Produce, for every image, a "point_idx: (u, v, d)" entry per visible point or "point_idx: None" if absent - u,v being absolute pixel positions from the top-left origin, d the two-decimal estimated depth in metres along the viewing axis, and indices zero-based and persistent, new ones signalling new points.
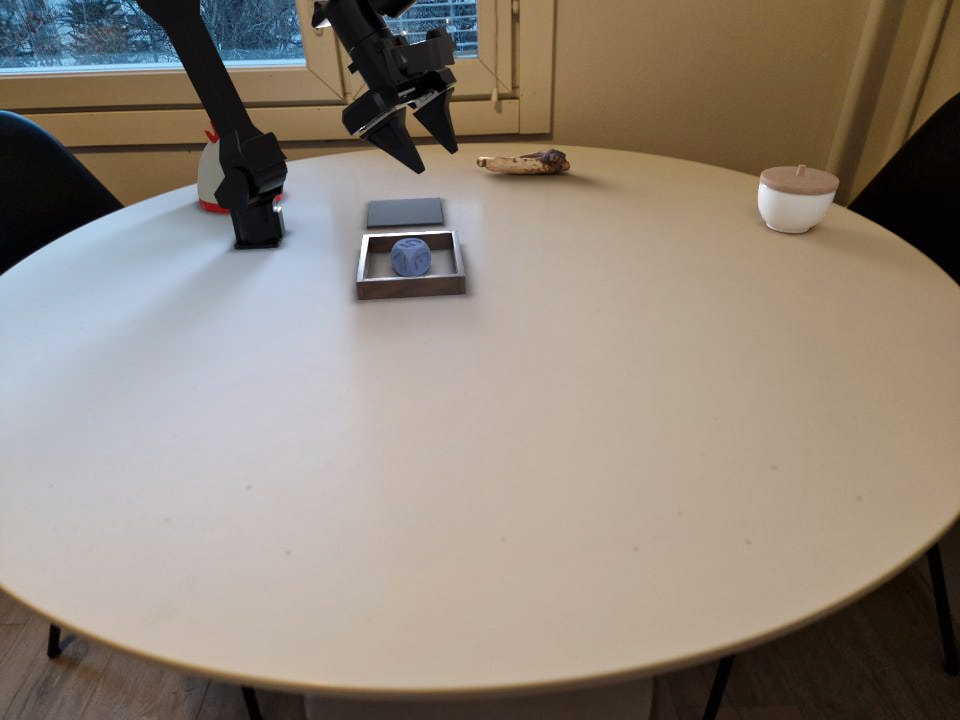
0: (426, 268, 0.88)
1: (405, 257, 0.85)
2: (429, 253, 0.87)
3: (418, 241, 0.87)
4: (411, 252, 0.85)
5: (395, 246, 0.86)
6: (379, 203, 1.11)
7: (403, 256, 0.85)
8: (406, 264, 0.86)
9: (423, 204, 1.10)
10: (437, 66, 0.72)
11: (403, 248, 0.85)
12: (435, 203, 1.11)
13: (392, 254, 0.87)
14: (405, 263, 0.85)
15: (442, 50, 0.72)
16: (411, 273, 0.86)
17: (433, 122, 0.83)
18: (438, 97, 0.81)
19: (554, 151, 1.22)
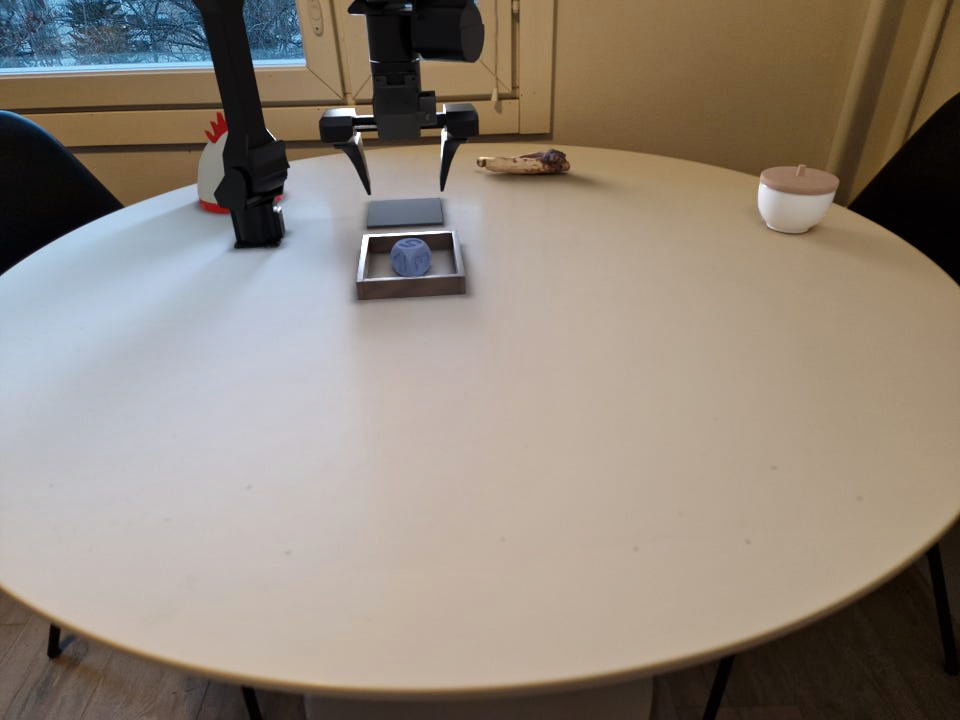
0: (426, 268, 0.88)
1: (405, 257, 0.85)
2: (429, 253, 0.87)
3: (418, 241, 0.87)
4: (411, 252, 0.85)
5: (395, 246, 0.86)
6: (379, 203, 1.11)
7: (403, 256, 0.85)
8: (406, 264, 0.86)
9: (423, 204, 1.10)
10: (380, 137, 0.72)
11: (403, 248, 0.85)
12: (435, 203, 1.11)
13: (392, 254, 0.87)
14: (405, 263, 0.85)
15: (391, 127, 0.71)
16: (411, 273, 0.86)
17: (441, 153, 0.81)
18: (443, 139, 0.78)
19: (554, 151, 1.22)
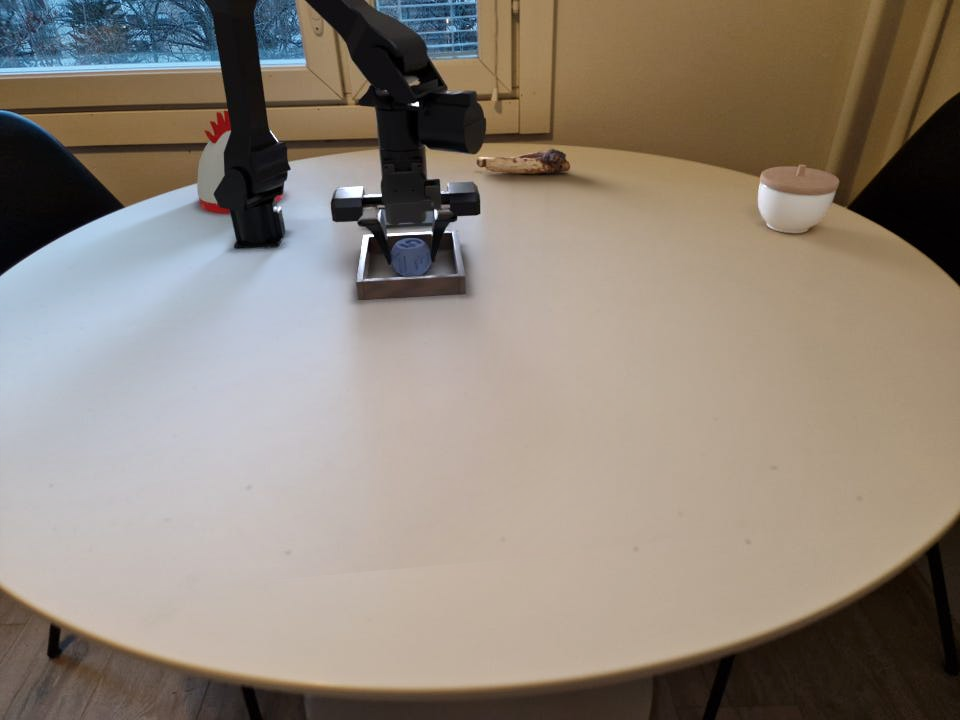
0: (426, 268, 0.88)
1: (405, 257, 0.85)
2: (429, 253, 0.87)
3: (418, 241, 0.87)
4: (411, 252, 0.85)
5: (395, 246, 0.86)
6: None
7: (403, 256, 0.85)
8: (406, 264, 0.86)
9: None
10: (388, 221, 0.77)
11: (403, 248, 0.85)
12: None
13: (392, 254, 0.87)
14: (405, 263, 0.85)
15: (399, 213, 0.76)
16: (411, 273, 0.86)
17: (432, 227, 0.86)
18: (434, 218, 0.83)
19: (554, 151, 1.22)
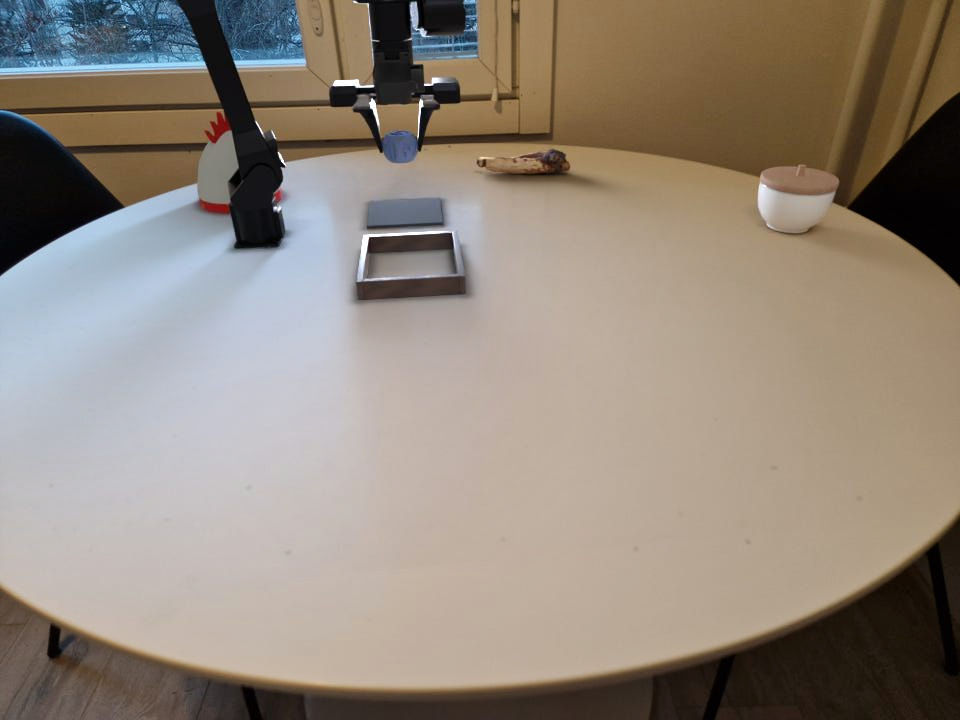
0: (413, 156, 0.99)
1: (394, 143, 0.97)
2: (416, 142, 0.98)
3: (406, 132, 0.99)
4: (400, 139, 0.96)
5: (386, 135, 0.97)
6: (379, 203, 1.11)
7: (393, 143, 0.97)
8: (395, 150, 0.97)
9: (423, 204, 1.10)
10: (378, 101, 0.88)
11: (393, 135, 0.97)
12: (435, 203, 1.11)
13: (383, 143, 0.98)
14: (394, 149, 0.97)
15: (387, 93, 0.87)
16: (400, 158, 0.98)
17: None
18: None
19: (554, 151, 1.22)
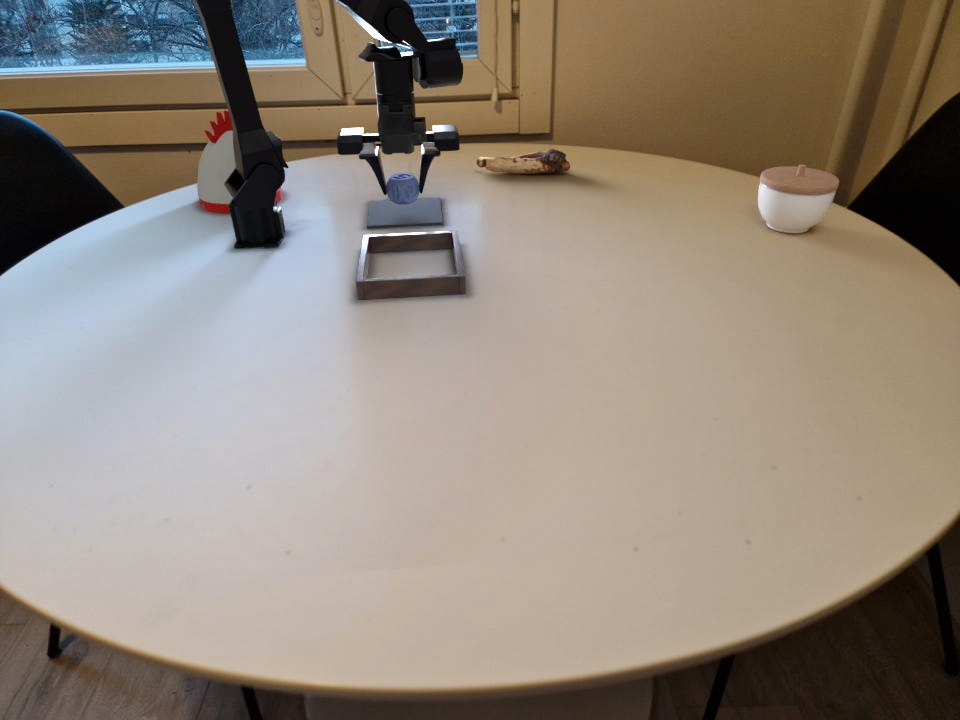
0: (415, 197, 1.06)
1: (398, 187, 1.03)
2: (418, 185, 1.05)
3: (409, 175, 1.05)
4: (403, 183, 1.03)
5: (389, 178, 1.04)
6: (379, 203, 1.11)
7: (396, 186, 1.03)
8: (398, 193, 1.04)
9: (423, 204, 1.10)
10: (383, 151, 0.95)
11: (396, 179, 1.03)
12: (435, 203, 1.11)
13: (387, 185, 1.05)
14: (398, 192, 1.03)
15: (392, 144, 0.94)
16: (403, 200, 1.04)
17: (420, 163, 1.04)
18: (421, 153, 1.01)
19: (554, 151, 1.22)
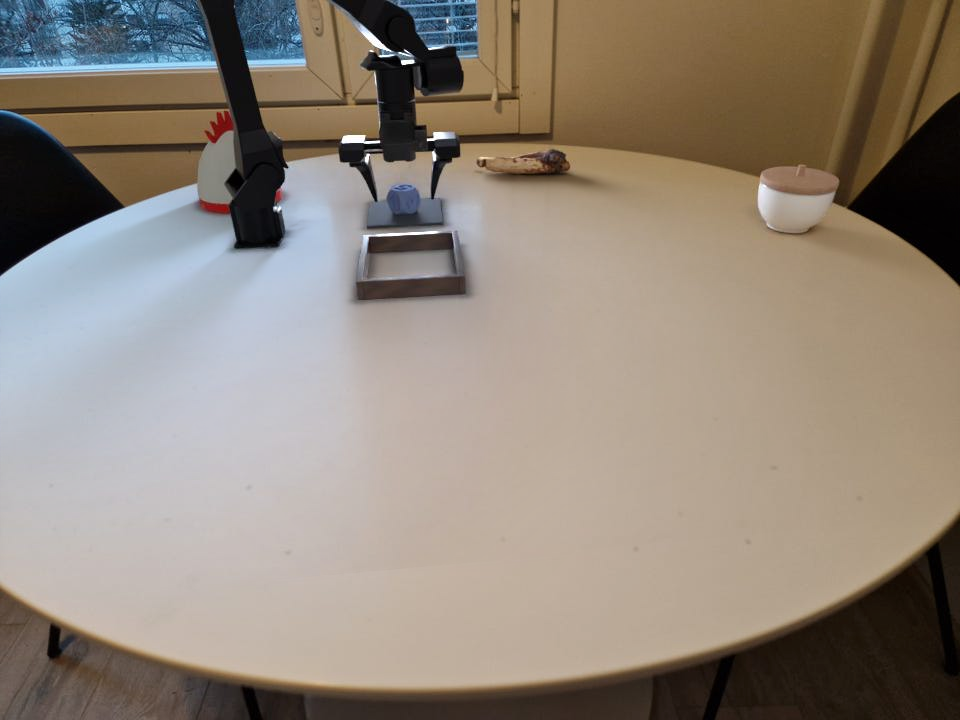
0: (416, 208, 1.07)
1: (399, 198, 1.04)
2: (418, 195, 1.06)
3: (409, 186, 1.06)
4: (403, 194, 1.04)
5: (390, 189, 1.05)
6: (379, 203, 1.11)
7: (397, 197, 1.04)
8: (399, 204, 1.05)
9: (423, 204, 1.10)
10: (385, 159, 0.96)
11: (397, 190, 1.04)
12: (435, 203, 1.11)
13: (388, 196, 1.06)
14: (399, 203, 1.04)
15: (393, 152, 0.94)
16: (404, 211, 1.05)
17: None
18: (433, 160, 1.02)
19: (554, 151, 1.22)
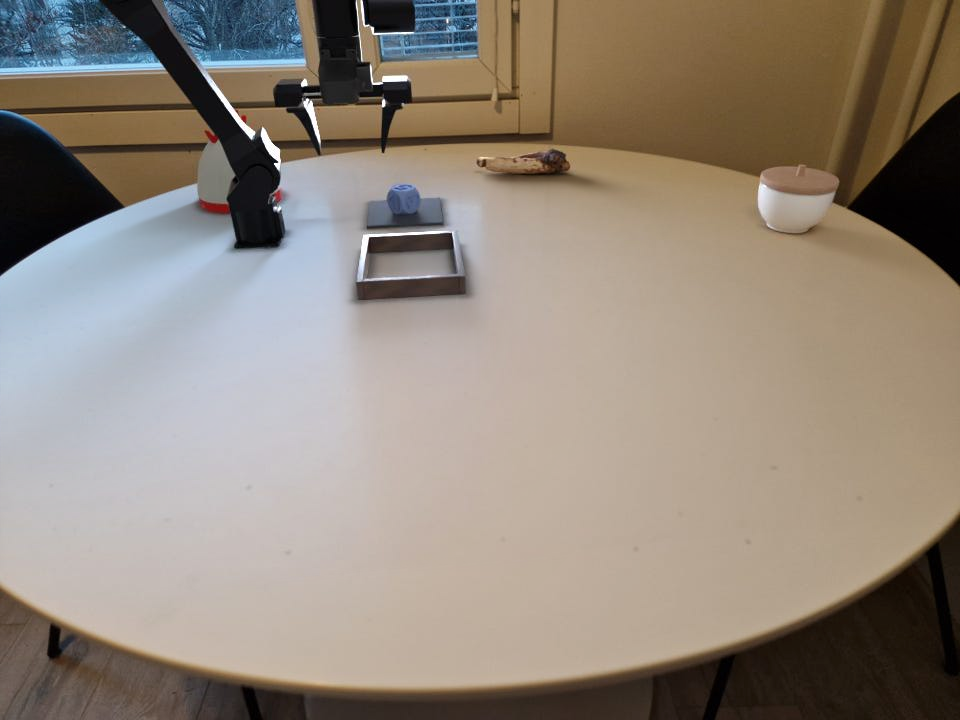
0: (416, 208, 1.07)
1: (399, 198, 1.04)
2: (418, 195, 1.06)
3: (409, 186, 1.06)
4: (403, 194, 1.04)
5: (390, 189, 1.05)
6: (379, 203, 1.11)
7: (397, 197, 1.04)
8: (399, 204, 1.05)
9: (423, 204, 1.10)
10: (324, 101, 0.84)
11: (397, 190, 1.04)
12: (435, 203, 1.11)
13: (388, 196, 1.06)
14: (399, 203, 1.04)
15: (333, 92, 0.83)
16: (404, 211, 1.05)
17: None
18: (382, 106, 0.91)
19: (554, 151, 1.22)
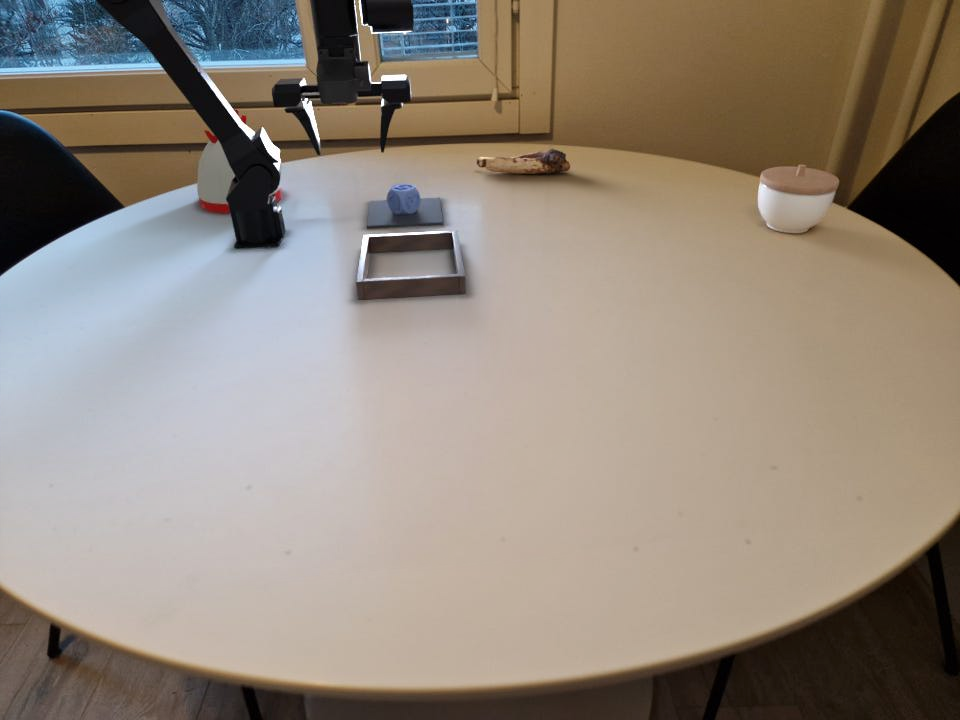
0: (416, 208, 1.07)
1: (399, 198, 1.04)
2: (418, 195, 1.06)
3: (409, 186, 1.06)
4: (403, 194, 1.04)
5: (390, 189, 1.05)
6: (379, 203, 1.11)
7: (397, 197, 1.04)
8: (399, 204, 1.05)
9: (423, 204, 1.10)
10: (322, 101, 0.84)
11: (397, 190, 1.04)
12: (435, 203, 1.11)
13: (388, 196, 1.06)
14: (399, 203, 1.04)
15: (331, 92, 0.83)
16: (404, 211, 1.05)
17: None
18: None
19: (554, 151, 1.22)
